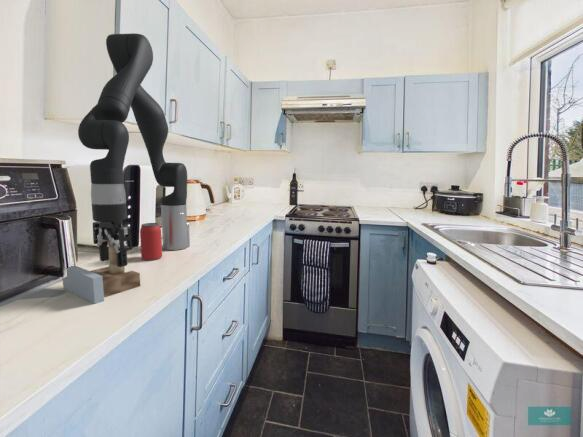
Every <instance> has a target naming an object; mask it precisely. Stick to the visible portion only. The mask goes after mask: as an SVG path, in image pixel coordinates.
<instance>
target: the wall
mask: <svg viewBox="0 0 583 437" xmlns="http://www.w3.org/2000/svg"><path fill="white" fill-rule="evenodd" d="M73 265H74V266H71V267H68V268H66V269H67V277H65V278H62V286H63V287H62V288H63V289H64V290H66V291H68V292H70V293H71V294H74V295H76V296H78V297H80V298H82V299H84V300H86V301H88V302H90V303H92V304H94V305H95V304H99V303H102V302H104V301H105V297H104V291H103V278H102V276H101V275H98V274H96V273H93V272H91V271H92V270H88V269H85V268H83V267H80V266H77V265H75V264H73Z"/></svg>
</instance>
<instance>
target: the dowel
mask: <svg viewBox="0 0 583 437" xmlns="http://www.w3.org/2000/svg"><path fill="white" fill-rule="evenodd" d="M108 243H109V245H108V246H109V260H108V267H109V274H110V275H112V276H114V275H118V274H121V273H125V272H126V271H125V267H126V266H123V267H118V266H117V255H116V253H117V252H116V249H115V247H114V246H112V245H111V243H110V242H109V241H108ZM119 247H120V245H119Z"/></svg>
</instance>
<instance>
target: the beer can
mask: <svg viewBox="0 0 583 437" xmlns="http://www.w3.org/2000/svg"><path fill="white" fill-rule="evenodd" d="M140 226H141V227H140V230H139V233H140V234H139V237H140V238H139V239H140V254H141V256H140V257H141V259H142V260H143V261H157V260H160V259H161V258H162V257H163V239H162V227H161V226H160V223H159V222H147V223H142V224H141V225H140Z"/></svg>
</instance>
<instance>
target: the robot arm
mask: <svg viewBox="0 0 583 437" xmlns="http://www.w3.org/2000/svg"><path fill="white" fill-rule="evenodd" d="M105 45H106V51H107V54H108V57H109V60H110V61H111V64H112V66H113V68H114V70H115V73H116V74H114V76H113V77H112V78H110V79H109V80H108V81H107V82H106V84H105V85H104V86H103V88H102V89H101V90H102V91H101V92H100V95H99V98H98V101H97V103H96V104H95V106H93V107H92V108H91V110H90V111H89V112H88V113H86V115H84V117H83V118H82V120H81V121H80V123H79V125H78V129H77V130H78V131H77V135H78V140H79V141H80V143H81V144H82V146H84V147H86V148H87V149H90V150H101V151H102V150H106V151H107V150H108V151H107V154H106V156H104V157H103V158H99V159H97V158H96V159H94V160H92V161H91V162H90V164H89V170H90V172H89V173H90V183H91V184H90V199H91V200H90V201H91V211H92V213H91V214H92V220H93V221H94V222H92V238H93V244H94V245H96V246H97V248H98V250H99V251H98V252H99V261H101V262H107V261H109V243H108V241H109V242H110V243H111V245H112V246H114V247H115V249H116V252H117V253H116V255H117V266H118V267H123V266H124V267H126V266H128V253H127V252H129V251H131V250H132V249H133V242H132V232H131V231H132V230H131V227H130V226H123V221H125V220H127V218H128V213H127V195H126V189H125V183H124V182H125V181H124V163H125V158H126V154H127V149H128V146H129V142H130V135H129V131H128V128H127V127H126V125H125V124H124V122H126V121H127V119H128V117H129V112H130V110H132V113H133V116H134V119H135V121H136V125H137V127H138V130H139V132H140V134H141V137H142V141H143V142H144V145H145V148H146V150H147V154H148V157H149V160H150V161H149V162H150V165H151V168H152V172H153V176H154V178H155V181H156V183H157V185H159V186H160V187H162V188H163V187H165V188H173V191H172V192H171V193H170V194H168V195H163V196H162V197H161V198H160V209H161V210H160V212H161V213H160V214H161V238H162V250H166V251H178V250H184V249H187V248H188V247H190V246H191V245H190V243H191V242H190V240H191V239H190V223H189V222H188V215H187V212H188V211H187V198H188V170H187V167H186V166H185V164H184V163H182V162H166V161H165V158H164V154H163V150H164V147H165V143H166V140H167V139H168V135H169V126H168V122H167V119H166V115H165V111H164V110H163V108H162V107H161V105H160V104H159V103H158V101H156V100H155V99H154V98H153V97H152V95H150V94H149V93H148V91H146V89H144V87H143V86H142V83H143V81H144V79H145V78H146V76H147V75H148V73H149V71H150V70H151V67H152V66H153V62H154V53H153V52H154V51H153V48H152V44H151V43H150V40H148V38H147V36H146V35H143V34H141V33H112V34H108V35H107V36H106V39H105ZM119 245H120V247H119Z"/></svg>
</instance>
